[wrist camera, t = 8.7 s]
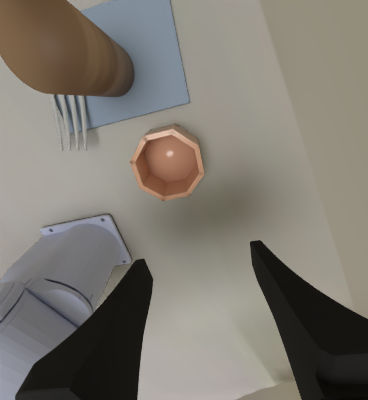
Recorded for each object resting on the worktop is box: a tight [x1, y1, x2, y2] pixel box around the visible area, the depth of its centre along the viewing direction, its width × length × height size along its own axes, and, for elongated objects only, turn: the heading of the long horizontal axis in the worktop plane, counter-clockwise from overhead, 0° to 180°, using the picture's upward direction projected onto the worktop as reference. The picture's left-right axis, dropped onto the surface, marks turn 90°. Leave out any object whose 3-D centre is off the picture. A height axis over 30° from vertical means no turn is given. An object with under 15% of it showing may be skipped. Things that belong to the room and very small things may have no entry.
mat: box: [55, 0, 189, 134], centre depth 16 cm, size 12×8×1 cm, turn 103°
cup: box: [130, 124, 205, 201], centre depth 18 cm, size 6×6×4 cm
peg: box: [0, 0, 135, 97], centre depth 12 cm, size 4×4×9 cm
